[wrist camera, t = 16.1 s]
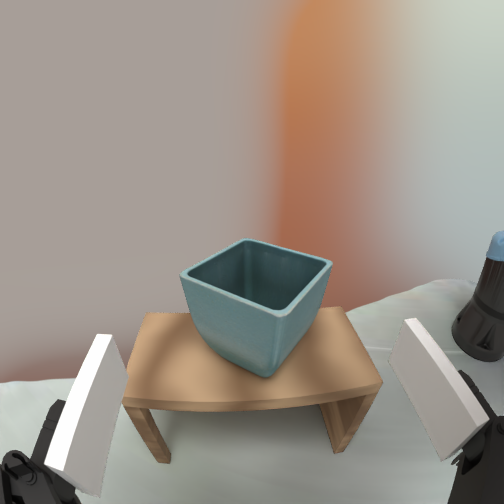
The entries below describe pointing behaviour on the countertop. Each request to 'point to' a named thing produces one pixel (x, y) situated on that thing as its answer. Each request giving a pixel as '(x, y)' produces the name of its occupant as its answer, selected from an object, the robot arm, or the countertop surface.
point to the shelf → (248, 377)
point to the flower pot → (255, 301)
